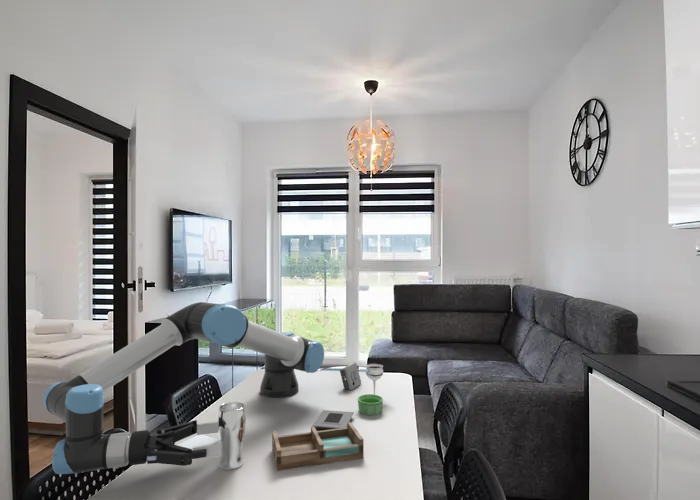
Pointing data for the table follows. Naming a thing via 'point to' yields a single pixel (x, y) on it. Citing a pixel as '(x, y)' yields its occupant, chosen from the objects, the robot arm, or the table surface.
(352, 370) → the electrical switch
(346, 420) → the electrical outlet
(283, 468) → the caddy
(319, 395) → the table surface
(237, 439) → the chrome pint tumbler
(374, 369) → the wineglass
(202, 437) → the external hard drive
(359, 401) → the ramekin
